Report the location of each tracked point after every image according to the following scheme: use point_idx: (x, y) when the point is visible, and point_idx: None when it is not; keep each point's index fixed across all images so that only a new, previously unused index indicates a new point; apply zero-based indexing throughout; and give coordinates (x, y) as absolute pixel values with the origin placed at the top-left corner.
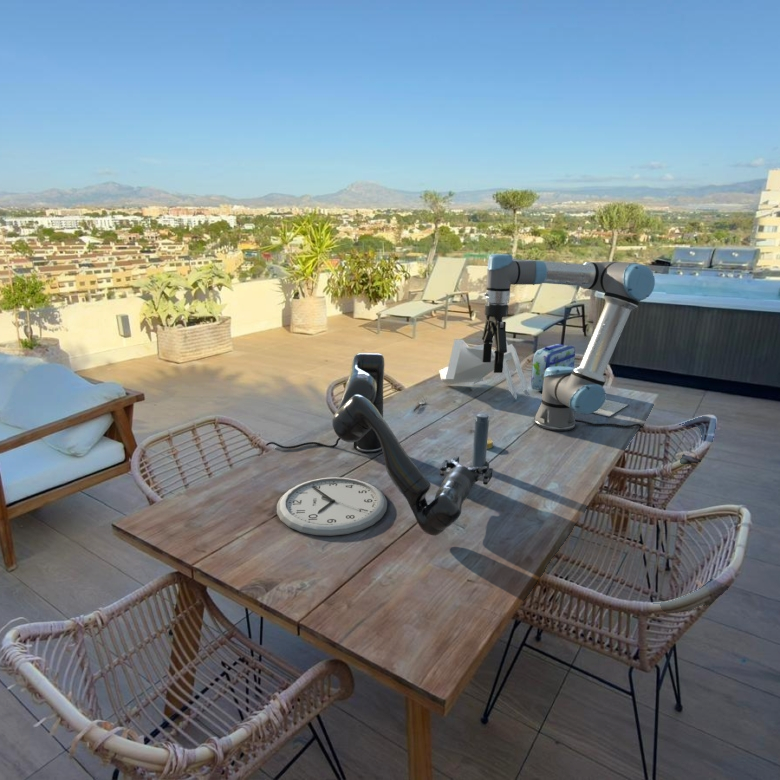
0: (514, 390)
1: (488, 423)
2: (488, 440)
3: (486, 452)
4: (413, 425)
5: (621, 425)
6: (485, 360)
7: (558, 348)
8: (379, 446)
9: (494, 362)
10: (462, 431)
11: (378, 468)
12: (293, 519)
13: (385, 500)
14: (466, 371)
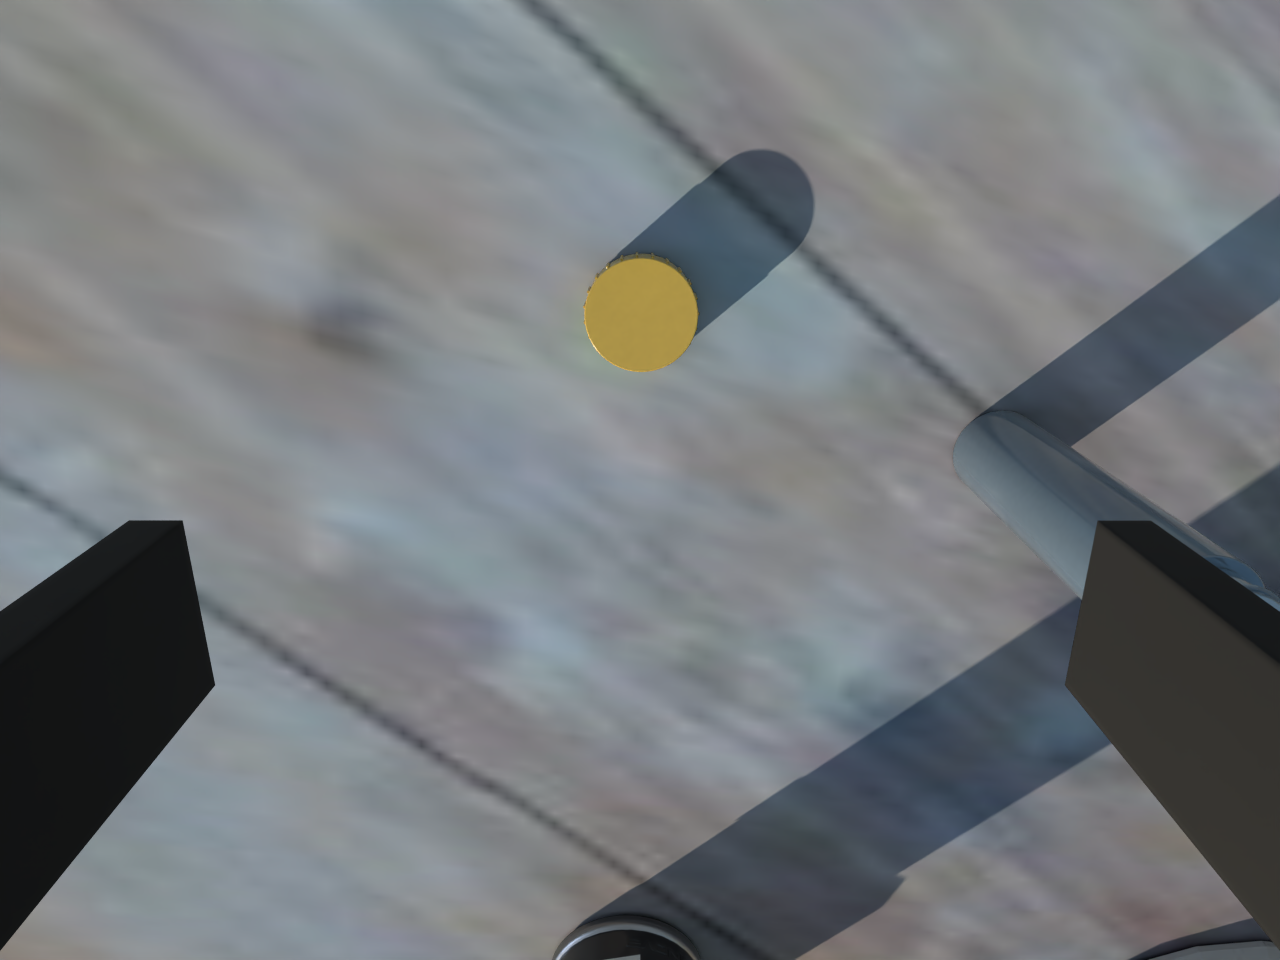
0: None
1: (1239, 559)
2: (634, 289)
3: (1077, 452)
4: (254, 721)
5: None
6: (181, 658)
7: None
8: (681, 955)
9: (1212, 847)
10: (347, 411)
11: (892, 945)
12: None
13: (1267, 958)
14: None
